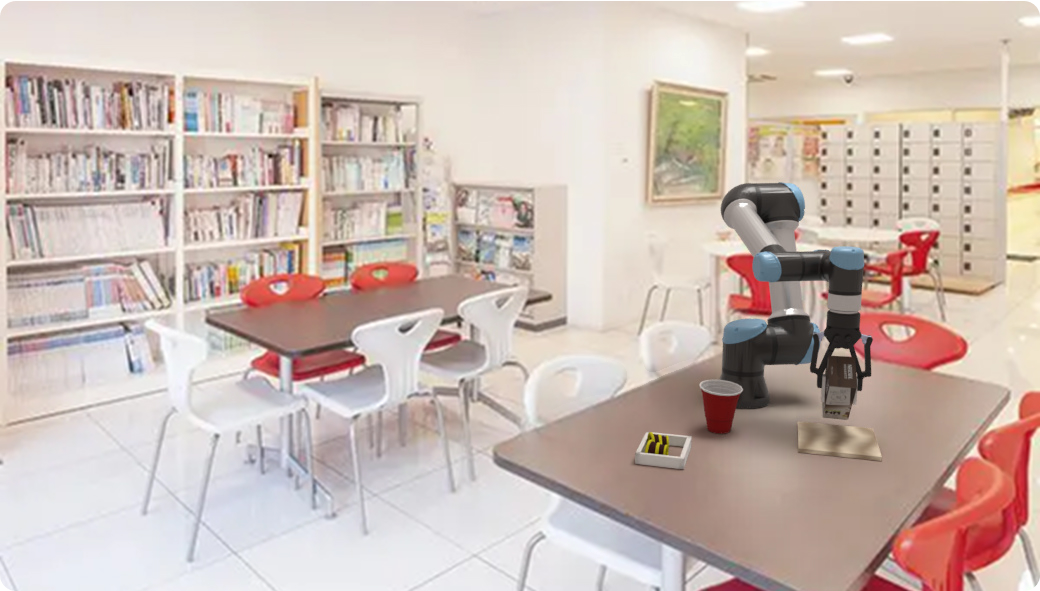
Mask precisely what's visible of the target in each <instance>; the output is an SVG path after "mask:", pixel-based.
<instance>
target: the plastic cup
mask: <svg viewBox="0 0 1040 591" xmlns="http://www.w3.org/2000/svg"><path fill="white" fill-rule="evenodd" d="M699 388H700V390H701V395H702V401H703V402H702V403H703V409H704V416H705V423H706V427H707V428H706V429H707V431H708V432H711V433H714V434H723V435H724V434H728V433H730V432H731V429H732V425H733V421H734V418H735V414H736V410H737V408H736V406H737V401H738V399H739V396H740V394H741V392H742V391H743V388H742V387H741V386H740V385H738V384H736V383H733V382H730V381H725V380H719V379H707V380H702V381H701V382H699Z"/></svg>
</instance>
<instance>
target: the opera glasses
mask: <svg viewBox="0 0 1040 591" xmlns="http://www.w3.org/2000/svg"><path fill="white" fill-rule="evenodd" d="M648 432H649V433H648V436H647V445H646V448H645V453H651V454H660V455H669V450H670V445H669V437H668V435H666V436H664V435H663V436H661V435H660V434H658V435H656V434H653V433H652V431H648Z"/></svg>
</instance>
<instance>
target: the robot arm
mask: <svg viewBox="0 0 1040 591" xmlns="http://www.w3.org/2000/svg"><path fill="white" fill-rule="evenodd" d="M805 209H806V203H805V197H804V194H803V192H802V190H801V188H800V187H799V186H797V185H796V184H795V183H791V182H783V181H782V182H759V183H757V182H756V183H751V182H748V183H741V184H738V185H735V186H734V187H733V188H731V189H730V190H728V192H727V193H726V194H725V195H724V197H723V198H722V200H721V204H720V216H721V219H722V220H723V222H724V223H725V225H727V227H728V228H730V229H732V230H734V232H735V233H736V234H737V236H738V237H739V238H740V240H741V241H742V243H743V244H744V246H745V247H746V249H747V251H748V252H749V254H751V256H752V257H753V258H752V273H753V276H754V278H755V279H756V280H757V281H759V282H763V283H764V282H768V287H769V296H770V297H769V298H770V306H771V307H770V308H771V314H770V315H769V317H768V318H767V321H765V320H764V319H762V318H741V319H737V320H736V319H735V320H733V321H730V322H728V323H726V324H725V326H724V328H723V333H722V334H723V336H722V339H721V341H722V352H721V353H722V355H721V356H722V357H721V358H722V360H721V361H722V362H721V374H720V377H719V379H718V380H725V381H730V382H733V383H736V384H738V385H740V386H741V387H742V388H743V391H742V392H741V394H740V396H739V399H738V401H737V406H736V409H758V408H763V407H766V406H768V405H769V404H770V392H769V389H768V386H767V382H766V379H765V366H781V365H783V366H784V365H785V366H786V365H795V366H798V365H805V364H810V365H809V370H810V373H811V374H815V375H816V376H817V377H816V386H817V389H821V390H820V402H821V403H822V402H824V401H825V384H826V374H825V370H826V366H827V362H828V356H833V353H834V352H835V349H838V350H839V349H843V350H844V349H845V350H848V351H849V352H850V357H855V361H856V375H857V390H856V393H855V397H854V400H853V404H852V406H853V405H854V406H856V405H857V399H858V397H857V396H858V392H862V390H863V384H864V383H863V382H864V379H865V378H867V377H868V378H870V377H872V356H871V352H872V350H871V346H872V343H873V341H874V339H873V337H872V335H870V334H868V335H867V334H863V333H862V332H861V330H860V326H861V313H860V312H859V311H861V310H862V296H863V294H862V291H863V280H864V267H865V260H864V259H865V255H864V254H865V251H864V249H863V248H861V247H857V246H845V245H843V246H834V247H832V248H831V250H829V249H815V250H813V251H811V250H810V251H809V250H808V251H797V244H796V235H795V234H796V233H795V231H796V229H797V228H798V227H799V226H800V222H801V221H802V220H803V219H804V216H805V213H806V212H805ZM821 281H823V282H828V290H827V291H828V292H827V309H828V311H827V312H826V325H825V326H826V327H825V329H824V330H823V331H822V332H821V330H820V328H819V326H818V324H816V323H814V322H811V318H810V317H811V316H810V314H808V313H807V312H806V311H805V310H804V304H803V296H802V286H801V282H821ZM824 337H825V339H826V340H827V342H828V346H827V349H826V350H825V353H824V355H823V358H822V360H821V362H820V364H819V366H818V367H817V363H818V357H819V352H820V348H821V342H822V341H823V338H824ZM860 339H861V343H862V344H863V352H864V353H863V354H864V355H863V356H864V370H862V367H861V365H860V361H859V358H858V355H857V353H856V349H855V345H856V344H857V343H858V341H859V340H860Z"/></svg>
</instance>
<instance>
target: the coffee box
mask: <svg viewBox="0 0 1040 591" xmlns="http://www.w3.org/2000/svg"><path fill="white" fill-rule="evenodd" d="M824 374H826V384H825V401H824V402H821V403H822V404H821V405H822V414H821V416H822V418H823V419H832V420H833V419H834V420H844V421H847V420H849V417H850V415H851V412H852V411H851V410H852V407H853V400H854V397H855V393H856V390H857V373H856V361H855V357H851V356H845V355H831V356H828V362H827V366H826V369H825V371H824Z"/></svg>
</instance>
